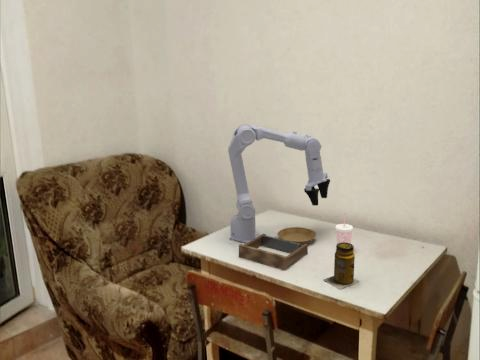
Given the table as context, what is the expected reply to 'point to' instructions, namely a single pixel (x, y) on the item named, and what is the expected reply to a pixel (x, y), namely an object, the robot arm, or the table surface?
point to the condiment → (343, 266)
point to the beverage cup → (344, 232)
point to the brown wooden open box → (270, 254)
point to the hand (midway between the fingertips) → (319, 201)
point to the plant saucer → (297, 235)
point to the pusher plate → (279, 244)
